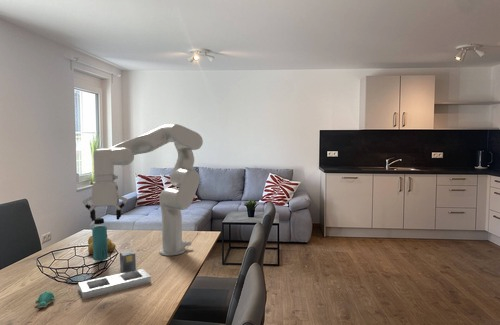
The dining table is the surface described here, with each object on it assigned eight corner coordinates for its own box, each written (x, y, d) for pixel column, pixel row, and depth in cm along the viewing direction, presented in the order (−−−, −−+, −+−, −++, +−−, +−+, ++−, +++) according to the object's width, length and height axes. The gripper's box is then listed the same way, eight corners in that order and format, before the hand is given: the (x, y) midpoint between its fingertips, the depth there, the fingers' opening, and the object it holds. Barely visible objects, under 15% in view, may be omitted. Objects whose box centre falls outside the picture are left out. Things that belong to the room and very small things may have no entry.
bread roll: (116, 248, 176) (116, 233, 175) (113, 254, 166) (113, 238, 166) (89, 250, 173) (89, 234, 172) (85, 256, 163) (84, 240, 163)
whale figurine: (57, 298, 120) (57, 288, 120) (51, 308, 113) (51, 297, 113) (38, 301, 119) (38, 290, 119) (31, 311, 112) (31, 299, 112)
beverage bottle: (102, 264, 152) (101, 220, 151) (89, 263, 154) (87, 219, 152) (111, 259, 159) (110, 217, 158) (98, 258, 160) (97, 216, 159)
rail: (142, 274, 141) (142, 268, 141) (150, 282, 133) (150, 276, 133) (78, 289, 128) (78, 282, 127) (83, 299, 119) (82, 292, 119)
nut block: (132, 268, 148) (131, 250, 148) (135, 271, 144) (135, 253, 144) (120, 270, 145) (119, 252, 145) (123, 274, 141) (123, 255, 141)
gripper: (127, 177, 147) (129, 216, 148) (84, 178, 144) (86, 218, 145) (124, 179, 140) (126, 220, 141) (79, 180, 136) (81, 222, 138)
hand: (106, 219), depth 143 cm, fingers open, 9 cm apart
